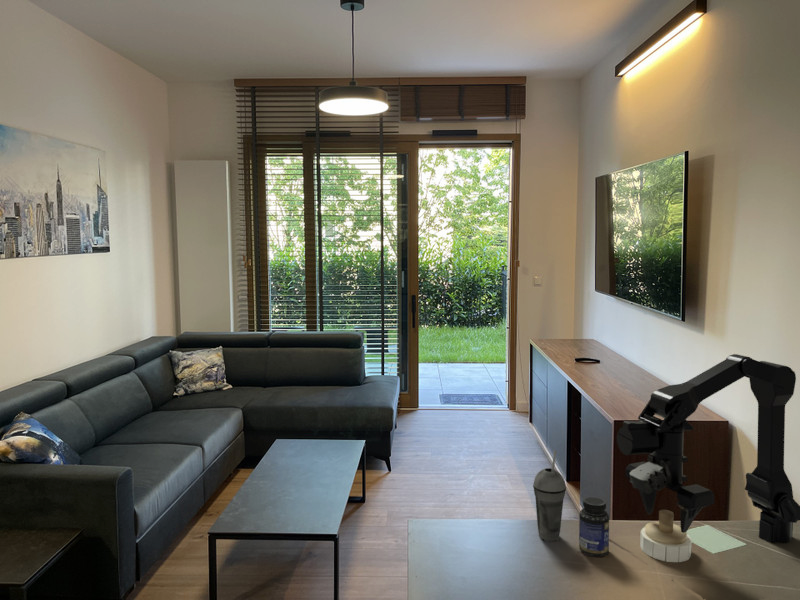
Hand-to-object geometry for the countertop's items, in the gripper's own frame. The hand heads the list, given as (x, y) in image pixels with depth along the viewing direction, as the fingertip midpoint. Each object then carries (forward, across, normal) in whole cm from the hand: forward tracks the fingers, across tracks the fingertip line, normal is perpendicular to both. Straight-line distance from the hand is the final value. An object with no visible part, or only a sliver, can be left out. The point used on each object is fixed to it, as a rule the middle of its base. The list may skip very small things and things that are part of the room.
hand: (666, 522), depth 125 cm
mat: (+7, 0, +13) cm, 15 cm away
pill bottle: (+7, -7, -13) cm, 16 cm away
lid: (+3, 0, 0) cm, 3 cm away
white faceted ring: (+7, 0, 0) cm, 7 cm away
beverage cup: (+7, -16, -18) cm, 25 cm away
